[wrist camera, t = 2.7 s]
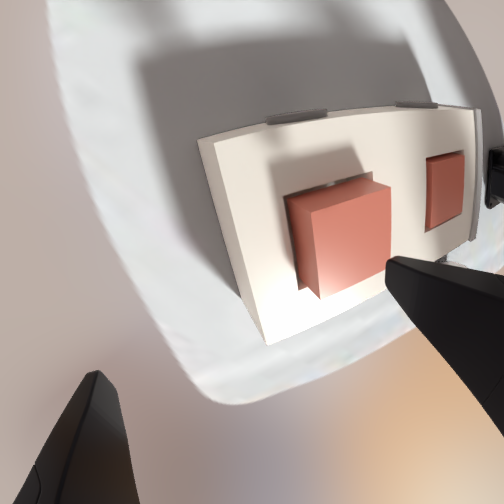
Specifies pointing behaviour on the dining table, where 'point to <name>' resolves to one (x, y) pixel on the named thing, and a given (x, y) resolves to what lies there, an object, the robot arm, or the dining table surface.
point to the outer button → (341, 234)
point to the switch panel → (324, 175)
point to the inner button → (444, 187)
